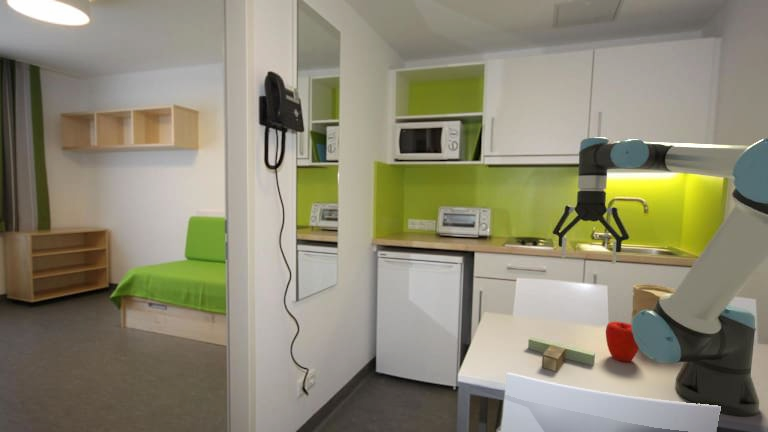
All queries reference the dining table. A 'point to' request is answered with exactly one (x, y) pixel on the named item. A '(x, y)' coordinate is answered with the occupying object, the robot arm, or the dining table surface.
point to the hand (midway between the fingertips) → (587, 260)
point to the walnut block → (553, 358)
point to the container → (647, 296)
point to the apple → (621, 341)
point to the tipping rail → (570, 353)
